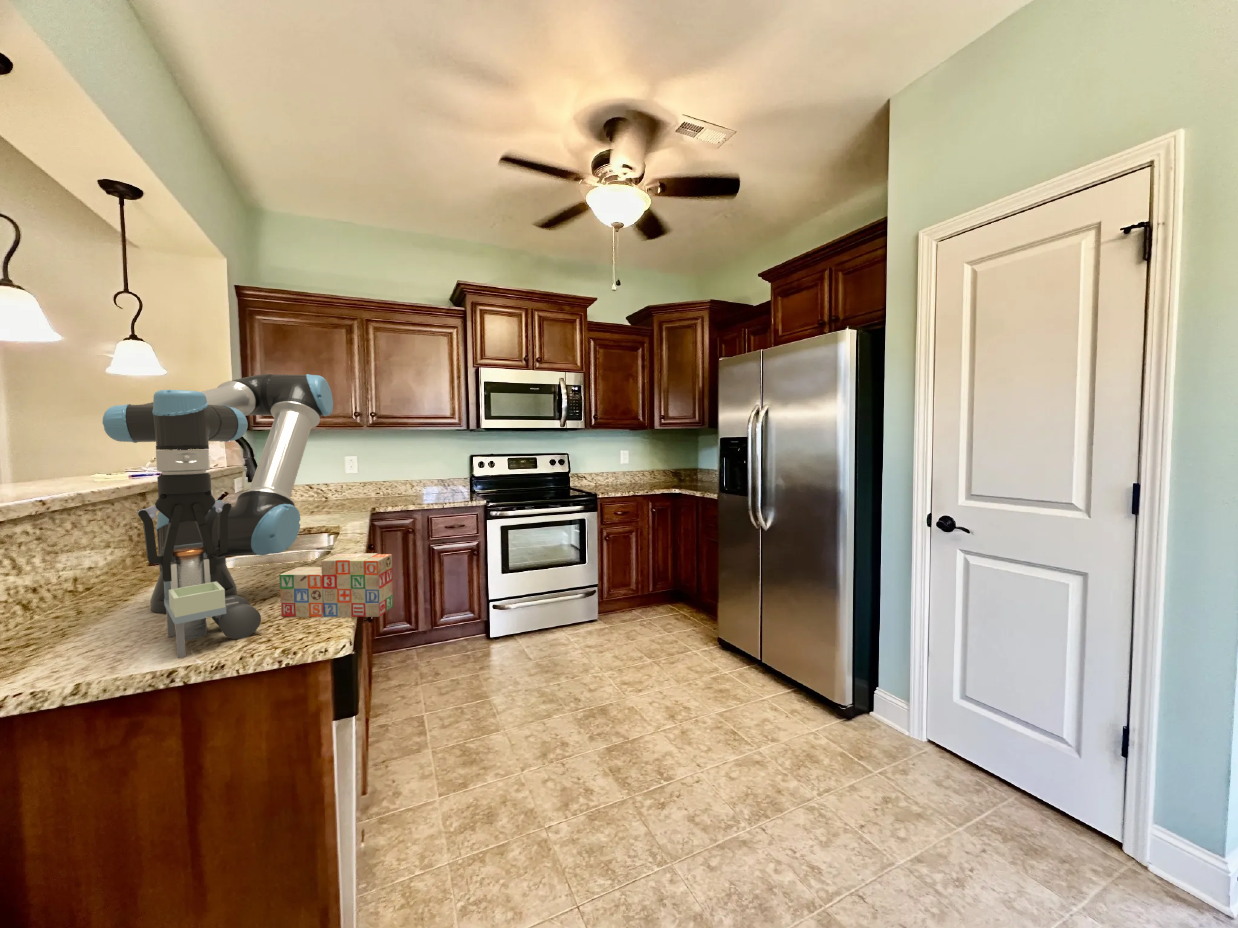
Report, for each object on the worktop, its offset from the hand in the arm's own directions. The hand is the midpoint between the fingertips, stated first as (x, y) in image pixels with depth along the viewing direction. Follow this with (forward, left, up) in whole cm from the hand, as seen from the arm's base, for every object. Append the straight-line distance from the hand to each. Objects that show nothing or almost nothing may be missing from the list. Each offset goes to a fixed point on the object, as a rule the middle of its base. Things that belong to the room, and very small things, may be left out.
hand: (191, 594), depth 93 cm
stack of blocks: (+7, +23, -9) cm, 26 cm away
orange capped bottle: (0, 0, -8) cm, 8 cm away
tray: (+7, 0, -1) cm, 7 cm away
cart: (+4, +3, -8) cm, 9 cm away
